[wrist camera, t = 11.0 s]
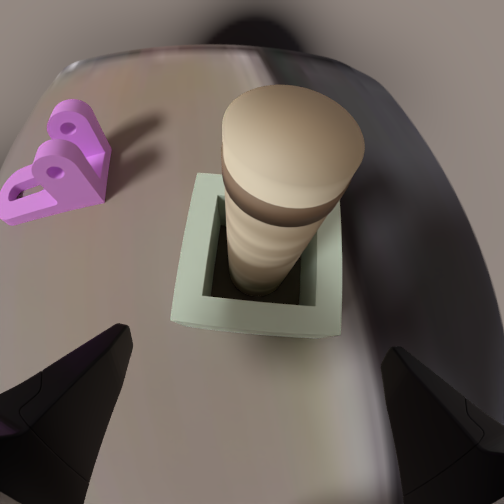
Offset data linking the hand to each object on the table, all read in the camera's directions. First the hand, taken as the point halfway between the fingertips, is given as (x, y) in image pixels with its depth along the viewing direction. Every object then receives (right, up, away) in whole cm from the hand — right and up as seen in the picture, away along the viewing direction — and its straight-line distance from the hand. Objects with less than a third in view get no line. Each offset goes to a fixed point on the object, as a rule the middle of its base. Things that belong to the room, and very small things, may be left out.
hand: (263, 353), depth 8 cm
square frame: (0, +2, +10) cm, 10 cm away
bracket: (-19, +9, +11) cm, 23 cm away
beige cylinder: (0, +2, +9) cm, 10 cm away
